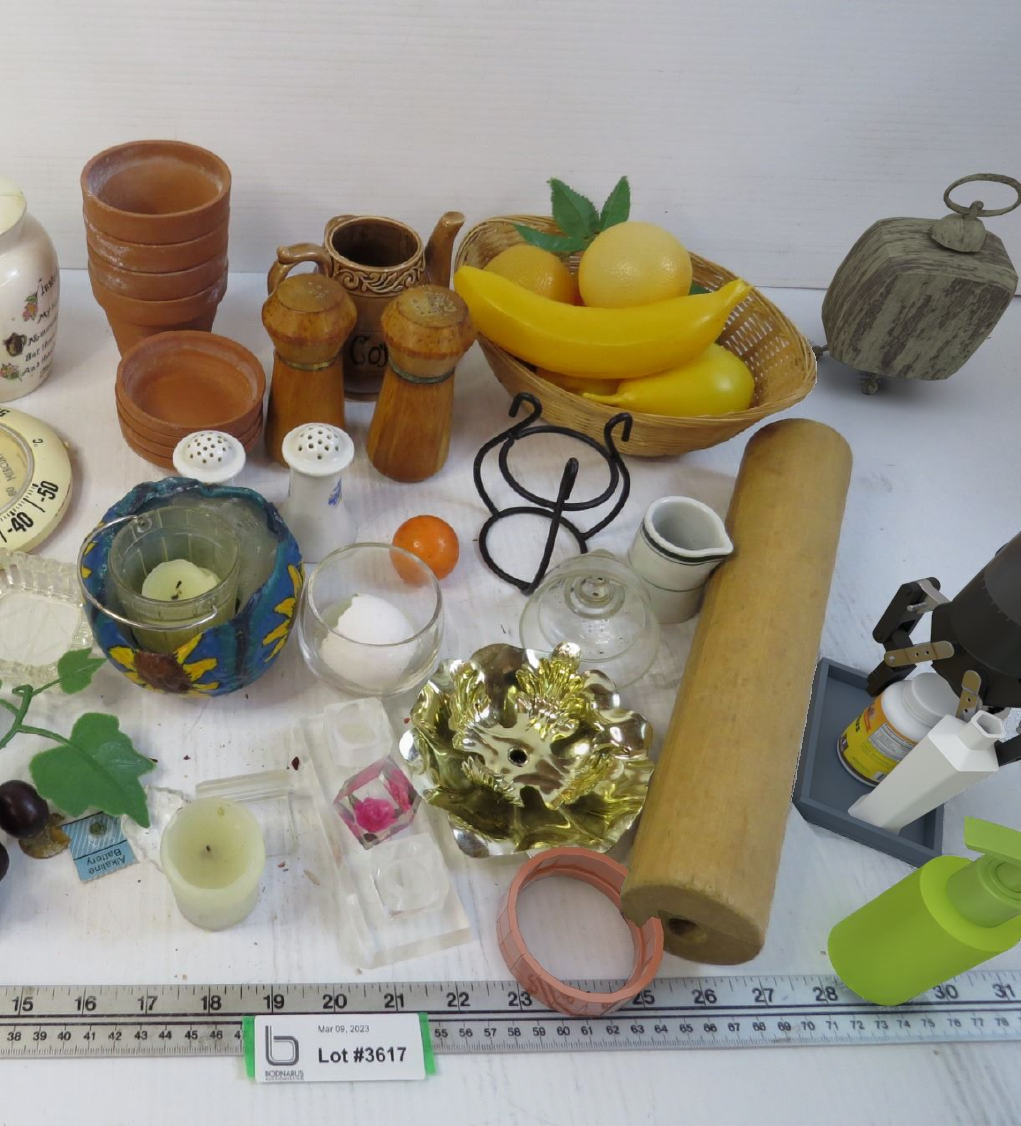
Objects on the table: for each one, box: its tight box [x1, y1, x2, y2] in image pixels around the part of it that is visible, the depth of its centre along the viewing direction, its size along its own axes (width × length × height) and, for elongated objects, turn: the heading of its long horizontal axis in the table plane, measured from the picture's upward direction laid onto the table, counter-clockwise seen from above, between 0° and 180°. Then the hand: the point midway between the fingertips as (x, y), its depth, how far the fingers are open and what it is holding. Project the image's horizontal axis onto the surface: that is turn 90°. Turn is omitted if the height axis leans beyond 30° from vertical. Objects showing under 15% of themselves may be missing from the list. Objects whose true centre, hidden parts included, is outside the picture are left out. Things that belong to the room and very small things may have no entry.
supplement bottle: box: [837, 672, 960, 787], centre depth 74 cm, size 6×6×10 cm
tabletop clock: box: [811, 172, 1021, 395], centre depth 100 cm, size 14×9×25 cm, turn 77°
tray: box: [791, 656, 945, 869], centre depth 78 cm, size 15×10×2 cm
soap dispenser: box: [827, 815, 1021, 1007], centre depth 60 cm, size 6×7×20 cm
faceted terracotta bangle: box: [495, 846, 665, 1018], centre depth 66 cm, size 10×10×5 cm
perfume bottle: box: [848, 710, 1007, 835], centre depth 69 cm, size 5×4×15 cm
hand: (905, 725), depth 74 cm, fingers open, 6 cm apart
